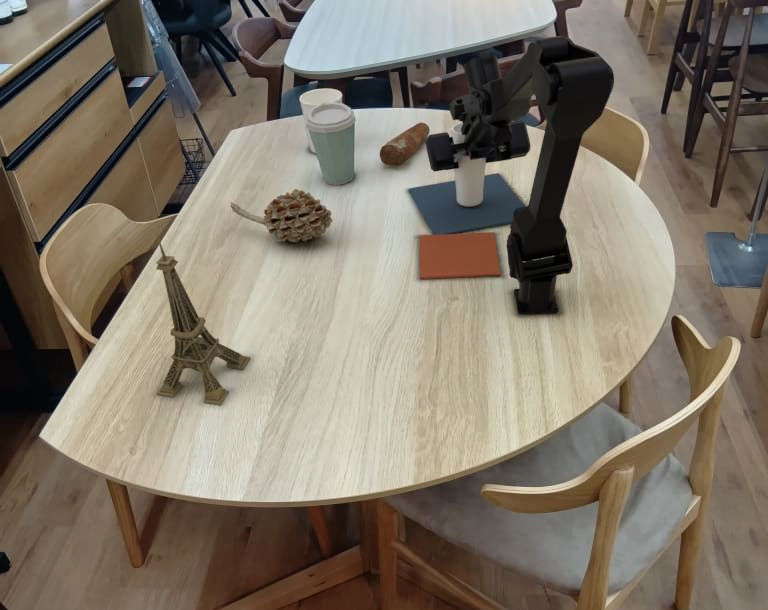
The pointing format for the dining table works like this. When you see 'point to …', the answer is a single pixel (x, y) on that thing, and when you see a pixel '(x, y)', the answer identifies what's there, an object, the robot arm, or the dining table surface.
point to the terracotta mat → (458, 255)
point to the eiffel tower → (192, 340)
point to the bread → (404, 145)
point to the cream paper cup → (317, 103)
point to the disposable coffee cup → (333, 140)
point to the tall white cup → (468, 174)
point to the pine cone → (292, 216)
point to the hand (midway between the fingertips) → (467, 163)
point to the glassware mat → (456, 218)
